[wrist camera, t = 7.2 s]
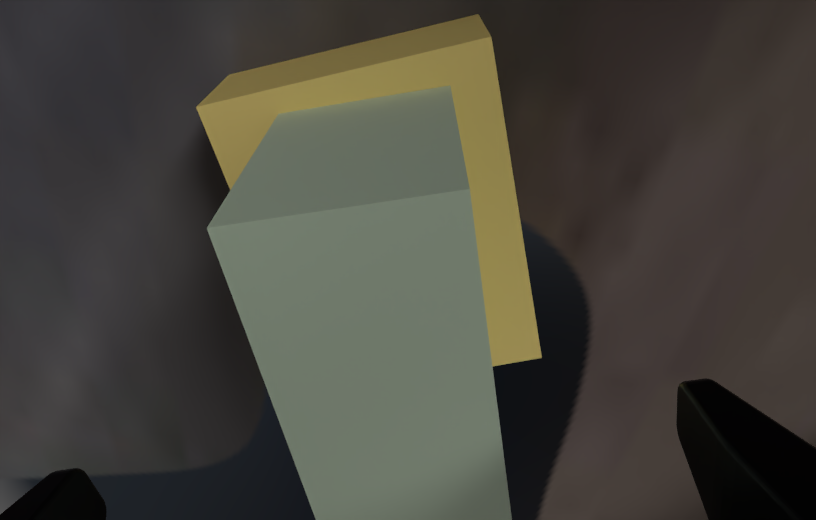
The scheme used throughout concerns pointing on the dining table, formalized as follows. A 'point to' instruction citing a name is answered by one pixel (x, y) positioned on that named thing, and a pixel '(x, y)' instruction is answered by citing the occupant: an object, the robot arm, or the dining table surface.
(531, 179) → the dining table surface
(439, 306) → the sage block
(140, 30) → the dining table surface
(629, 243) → the dining table surface
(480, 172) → the mustard slab
